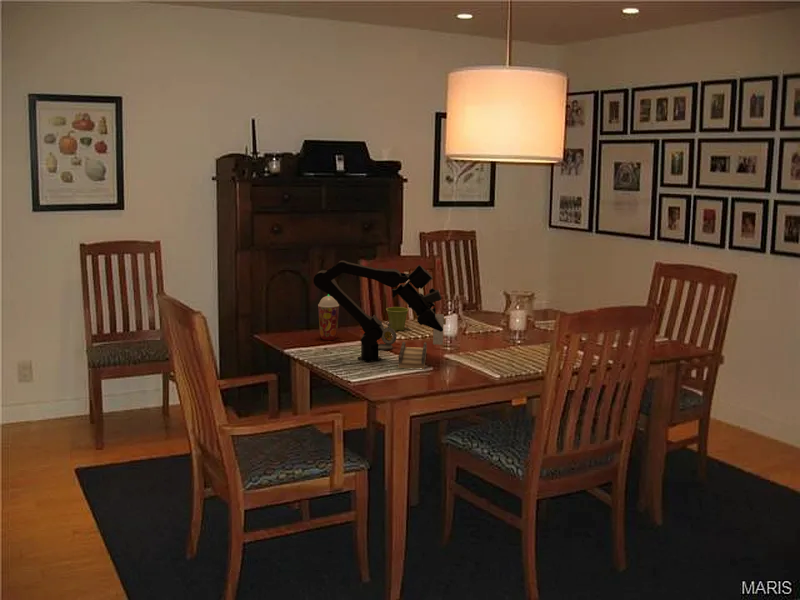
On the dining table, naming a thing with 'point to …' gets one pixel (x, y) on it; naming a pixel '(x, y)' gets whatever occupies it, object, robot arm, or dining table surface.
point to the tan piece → (412, 357)
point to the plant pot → (397, 317)
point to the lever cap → (437, 334)
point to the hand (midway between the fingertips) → (442, 329)
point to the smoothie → (328, 317)
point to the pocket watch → (386, 335)
